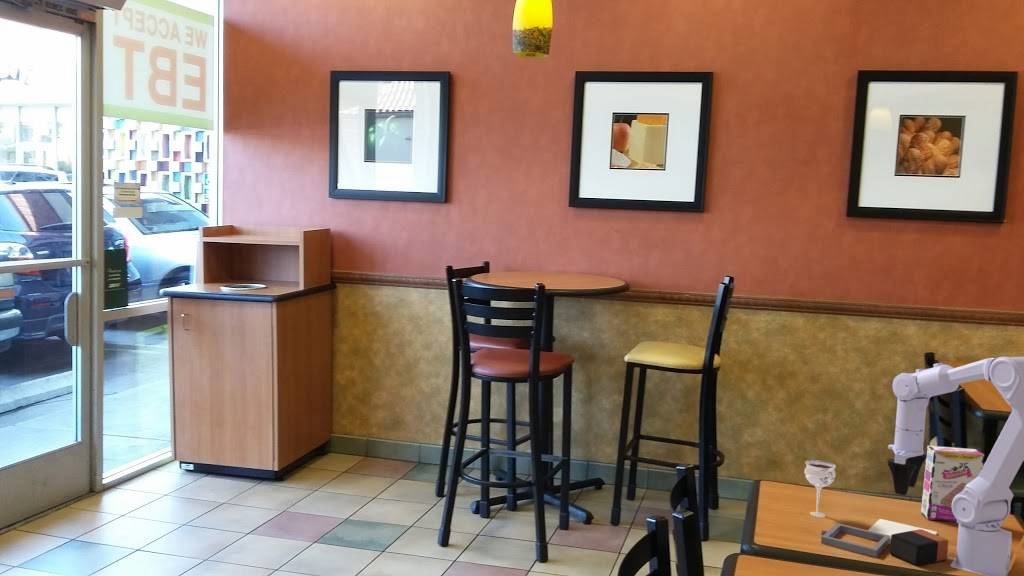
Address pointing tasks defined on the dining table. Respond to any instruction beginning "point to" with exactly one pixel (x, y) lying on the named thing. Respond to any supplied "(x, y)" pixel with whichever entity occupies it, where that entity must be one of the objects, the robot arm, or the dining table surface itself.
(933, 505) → the candy bar box
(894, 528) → the mat
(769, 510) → the dining table surface
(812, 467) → the wineglass
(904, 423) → the robot arm
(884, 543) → the frame
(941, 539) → the battery
